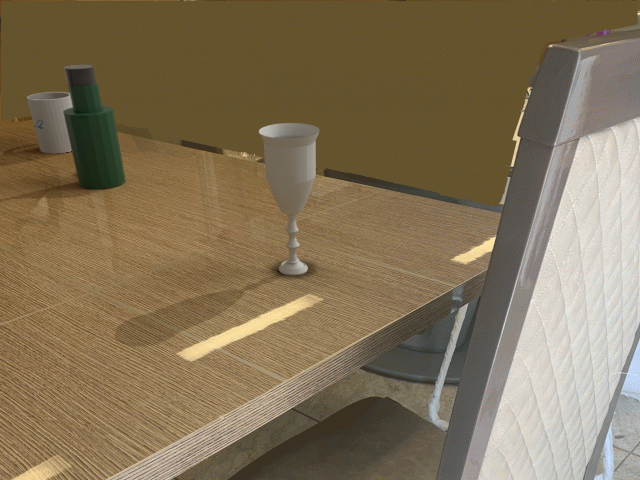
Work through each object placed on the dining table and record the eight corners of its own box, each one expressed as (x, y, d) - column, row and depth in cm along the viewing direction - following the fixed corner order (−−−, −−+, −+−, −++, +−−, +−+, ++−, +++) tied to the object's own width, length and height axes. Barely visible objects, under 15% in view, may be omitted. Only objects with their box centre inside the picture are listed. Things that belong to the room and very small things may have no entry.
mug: (83, 151, 133) (72, 98, 127) (39, 155, 131) (26, 101, 125) (81, 137, 143) (70, 87, 137) (40, 141, 140) (27, 90, 134)
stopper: (72, 122, 108) (60, 69, 103) (78, 116, 112) (67, 64, 107) (100, 122, 108) (89, 68, 103) (105, 116, 112) (95, 64, 107)
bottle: (75, 189, 113) (52, 88, 103) (85, 176, 119) (64, 80, 109) (121, 188, 113) (102, 87, 104) (128, 175, 120) (111, 79, 110)
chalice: (275, 267, 86) (268, 121, 75) (325, 271, 85) (325, 124, 74) (260, 291, 80) (250, 136, 69) (313, 295, 79) (312, 140, 68)
